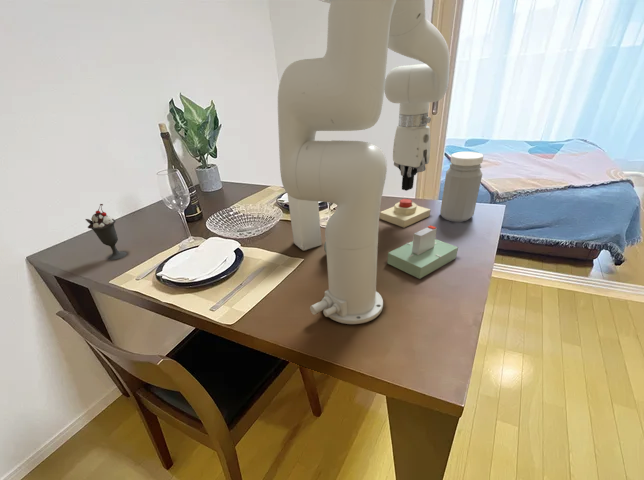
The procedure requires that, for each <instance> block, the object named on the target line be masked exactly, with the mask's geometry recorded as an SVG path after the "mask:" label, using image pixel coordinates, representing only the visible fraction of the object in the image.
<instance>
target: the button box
mask: <svg viewBox="0 0 644 480" xmlns="http://www.w3.org/2000/svg"><path fill="white" fill-rule="evenodd" d="M430 214H431V209H430V208H427V207H424V206H420V205H418V204H417V203H415V202H414V201H412V206H411V207H408V208H403V207H400V201H398V202H395V204H394V206H391V207H389V208H387V209H384V210H382V211H381V210H380V213H379V220H383V221H385V222H388V223H390V224H393V225H396V226H398V227H401V228H407V227H408V226H411V225H413V224H416V223H417V222H420V221H423V220H424V219H426V218H429V217H430V216H431V215H430Z"/></svg>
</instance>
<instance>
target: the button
mask: <svg viewBox="0 0 644 480" xmlns="http://www.w3.org/2000/svg"><path fill="white" fill-rule="evenodd" d="M399 202H400V207H403V208H408V207H411V206H412V202H413V200H412V199H410V198H403V199H400V200H399Z"/></svg>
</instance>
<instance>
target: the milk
mask: <svg viewBox="0 0 644 480" xmlns="http://www.w3.org/2000/svg"><path fill="white" fill-rule="evenodd" d="M287 202H288V208H289V218H290V224H291V225H290V226H291V233H292V239H293V244H294V245H295V246H296V247H298V248H299V249H300V250H301V251H302V252H304V251H307V250H311V249H314V248H317V247H321V246H322V232H321V231H322V230H321V220H320V219H321V217H320V204H319V203H320V202H318V201H307V200H300V199H295V198H293V197H291V196H290V195H288V194H287Z"/></svg>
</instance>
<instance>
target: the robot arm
mask: <svg viewBox="0 0 644 480" xmlns="http://www.w3.org/2000/svg"><path fill="white" fill-rule="evenodd" d="M319 1H320V2H323V3H327V4H329V9H328V14H327V34H326V35H327V36H326V37H327V41H326V52H325V54H324V56H323V57H317V58H316V57H315V58H304V59H298V60H296V61H293V62H292V63H290V64H289V65H288V66H286V68H285V69H284V71H283V73H282V75H281V77H280V81H279V84H278V90H277V125H278V126H277V128H278V129H277V130H278V151H279V152H278V155H279V170H280V172H279V174H280V179H281V184H282V187H283V189H284V191H285V192H286V194H287V196H288V195H290V196H291V197H293V198H295V199H300V200H307V201H318V203H320V202H321V203H328V204H334V205H336V206H337V208H336V210H335V211H334V212H333V213H332V215H331V216H330V217H328V220H327V222H326V225H325V229H324V230H325V231H324V235H325V236H324V237H325V241H326V252H325V254H326V253H327V254H326V265H327V268H326V269H327V282H328V283H327V284H328V289H326V290H325V291H324V295H323V298H322V299H321V301H318V302H316V303H313V304H312V305H310V306H309V310H310V312H311V314H312V315H313V316H315V315H318V314H319V313H321V312H322V313H323V315H324V317H326V318H329V319H331V320H333V321H334V322H338V323H341V324H345V325H346V324H347V325H359V324H365V323H368V322H370V321H373V320H375V319H376V318H377V317H378V316H379V315H380V314H381V313H382V311H383V308H384V299H383V297H382V295H381V294H380V293H379V292H378V291H377V276H378V275H377V272H378V251H379V248H378V247H379V244H378V243H379V227H380V226H379V225H380V212H381V203H382V198H383V195H384V187H385V183H386V179H387V171H388V162H387V156H386V153H385V152H384V151H383V150H382V149H381V148H380V147H379V146H378V145H376V144H374V143H371V142H368V141H362V140H333V139H332V140H316V134H317V132H353V131H354V132H355V131H356V132H357V131H365V130H368V129H370V128H373V127H374V126H375V125H376V124H377V123H378V121H379V120H380V117H381V114H382V109H383V103H384V96H385V97H386V100H388V101H389V102H390V103H392V104H399V111H398V125H397V126H396V129H395V133H394V139H393V147H392V161H393V166H394V167H395V168H397V169H398V170H399V172H400V176H401V179H402V180H401V190H403V191H406V192H407V191H409V190H412V189H414V183H415V182H414V181H415V176H416V175H417V174H418V173H422V172H425V171H426V165H428V164H429V163H430V157H431V140H432V139H431V127H430V126H429V125H428V124H430V123H431V121H432V118H431V117H430V116H429V110H430V103H436V102H439V101H441V100H442V99H443V98H444V97H445V96H446V93H447V91H448V88H449V83H450V82H449V81H450V60H451V59H450V57H451V56H450V48H449V45H448V43H447V41H446V39H445V37H444V35H443V34H442V33H441V32H440V30H439V29H438V28H437V27H436V26H435V25H434V24H433V23H432V22H431V21H430V20H428V19H427V18H426V0H319ZM388 50H390V51H392V52H393V53H396V54H399V55H402V56H404V57H407V58H410V59H414V60H416V61H419V62H421V63H417V64H415V63H414V64H409V65H408V64H407V65H399V66H395V67H393V68H391V70H389V72H388V74H387V64H388ZM386 74H387V75H386Z"/></svg>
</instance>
